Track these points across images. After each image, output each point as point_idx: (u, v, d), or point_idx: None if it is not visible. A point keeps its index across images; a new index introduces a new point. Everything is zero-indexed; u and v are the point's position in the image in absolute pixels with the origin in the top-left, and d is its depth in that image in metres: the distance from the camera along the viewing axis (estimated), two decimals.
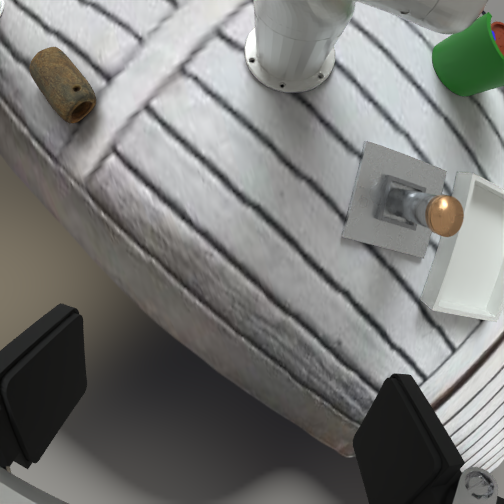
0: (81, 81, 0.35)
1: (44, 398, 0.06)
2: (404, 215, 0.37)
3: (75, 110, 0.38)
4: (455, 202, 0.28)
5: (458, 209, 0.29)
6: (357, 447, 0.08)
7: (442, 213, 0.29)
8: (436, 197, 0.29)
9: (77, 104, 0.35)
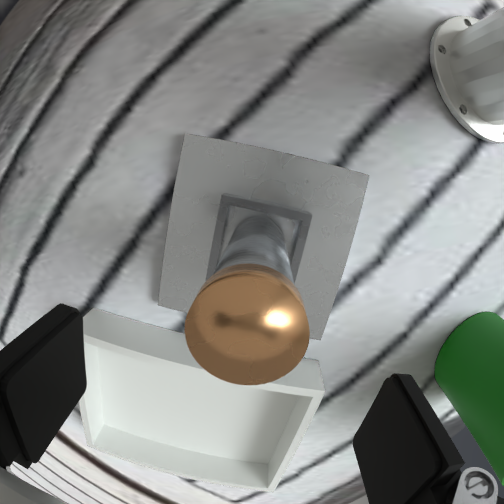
0: None
1: (44, 398, 0.06)
2: (234, 239, 0.18)
3: None
4: (290, 356, 0.11)
5: (270, 367, 0.11)
6: (357, 447, 0.08)
7: (255, 315, 0.11)
8: (298, 295, 0.12)
9: None
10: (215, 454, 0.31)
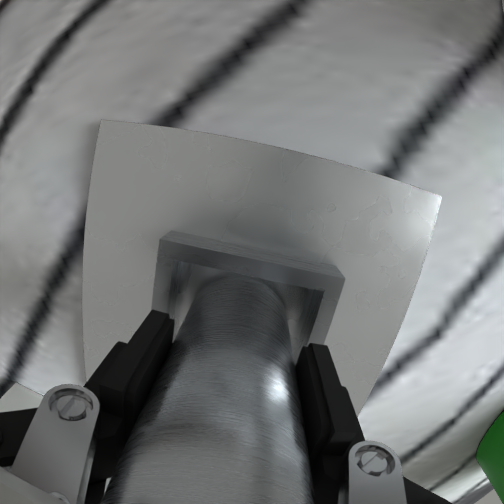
0: None
1: None
2: (171, 365, 0.07)
3: None
4: None
5: None
6: None
7: None
8: None
9: None
10: None
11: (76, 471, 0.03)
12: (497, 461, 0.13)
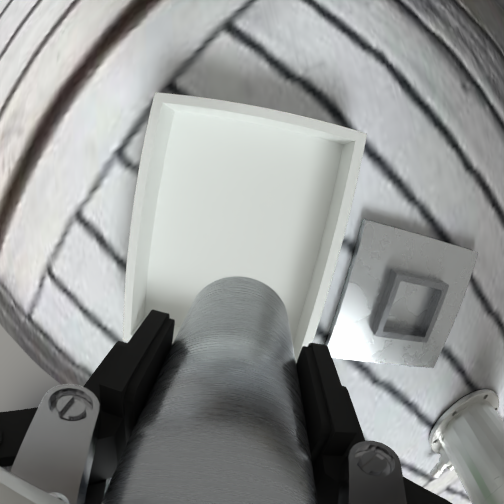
0: None
1: None
2: (172, 365, 0.07)
3: None
4: None
5: None
6: None
7: None
8: None
9: None
10: (152, 259, 0.29)
11: (76, 471, 0.03)
12: None
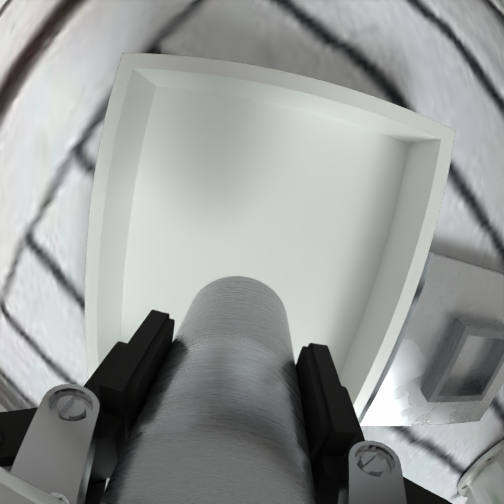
0: None
1: None
2: (170, 365, 0.07)
3: None
4: None
5: None
6: None
7: None
8: None
9: None
10: (126, 307, 0.19)
11: (76, 471, 0.03)
12: None
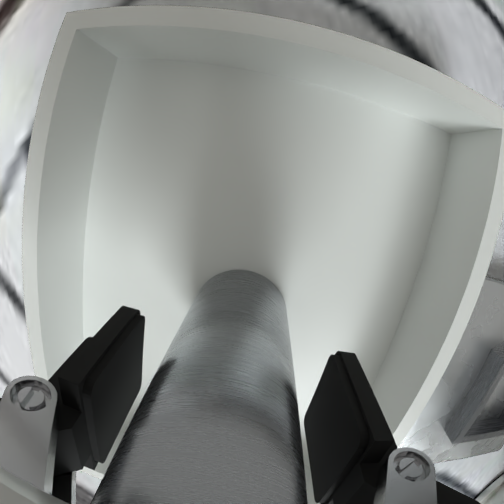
0: None
1: (115, 398, 0.07)
2: (177, 345, 0.08)
3: None
4: None
5: None
6: (306, 425, 0.09)
7: None
8: None
9: None
10: None
11: (41, 459, 0.03)
12: None
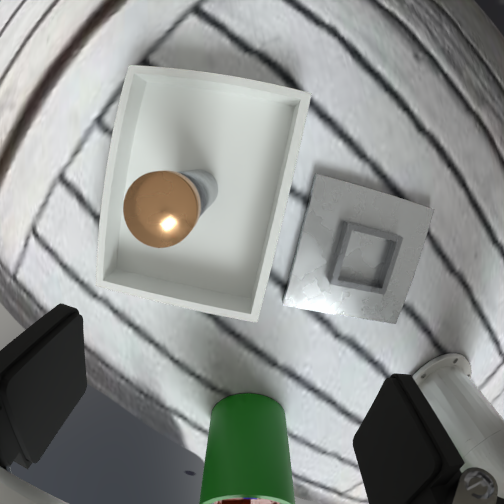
0: None
1: (44, 398, 0.06)
2: None
3: None
4: (186, 223, 0.18)
5: (174, 232, 0.18)
6: (357, 447, 0.08)
7: (162, 194, 0.17)
8: (193, 186, 0.18)
9: None
10: None
11: None
12: (247, 408, 0.35)
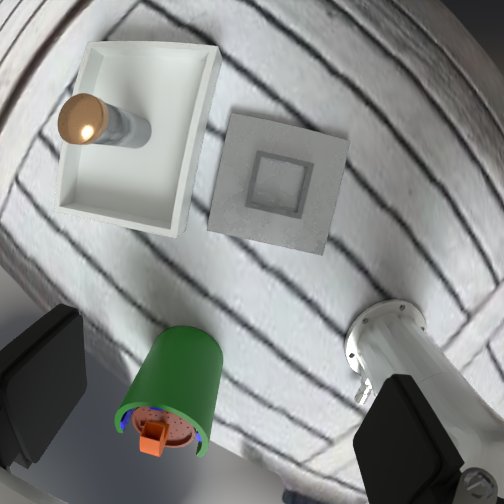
0: None
1: (44, 398, 0.06)
2: None
3: None
4: (93, 124, 0.22)
5: (85, 132, 0.22)
6: (357, 447, 0.08)
7: (81, 107, 0.21)
8: (102, 103, 0.22)
9: None
10: (82, 155, 0.35)
11: None
12: (179, 336, 0.39)
